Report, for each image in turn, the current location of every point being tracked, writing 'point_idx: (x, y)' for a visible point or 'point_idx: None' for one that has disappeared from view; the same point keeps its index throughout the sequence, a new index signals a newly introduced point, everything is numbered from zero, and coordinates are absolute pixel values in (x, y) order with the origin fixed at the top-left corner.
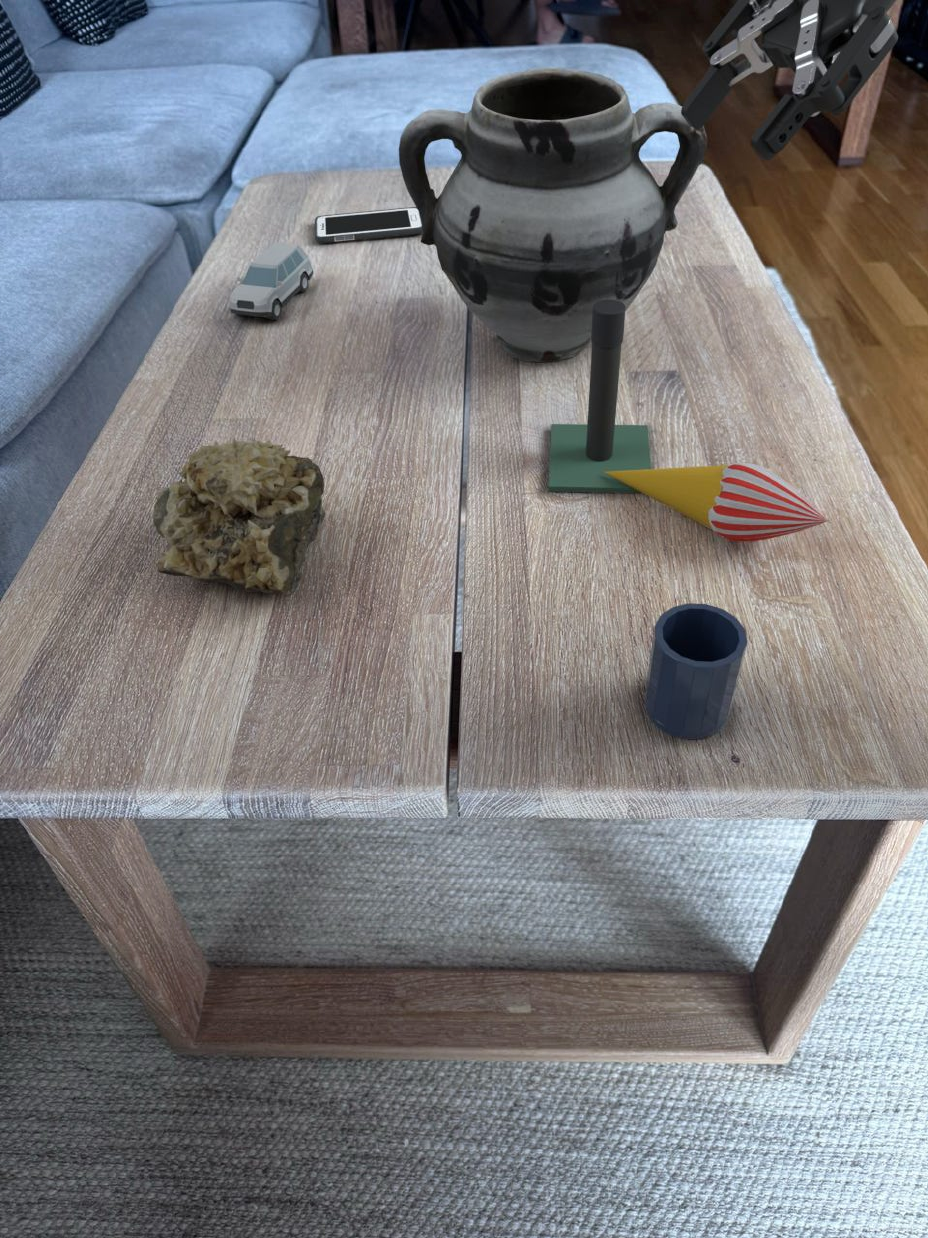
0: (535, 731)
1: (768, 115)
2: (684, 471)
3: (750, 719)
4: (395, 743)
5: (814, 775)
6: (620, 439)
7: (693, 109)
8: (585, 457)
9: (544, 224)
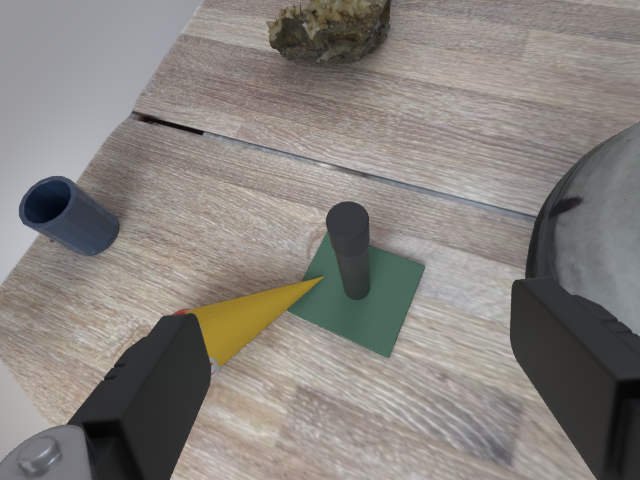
0: (130, 154)
1: (159, 353)
2: (240, 308)
3: (66, 262)
4: (163, 95)
5: (18, 274)
6: (373, 318)
7: (523, 305)
8: None
9: (596, 190)
